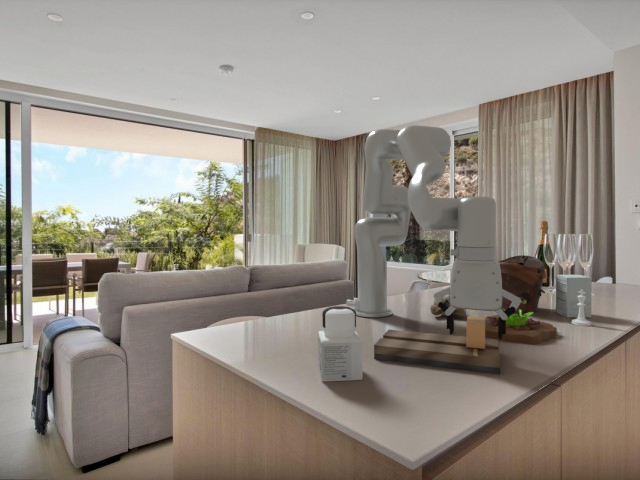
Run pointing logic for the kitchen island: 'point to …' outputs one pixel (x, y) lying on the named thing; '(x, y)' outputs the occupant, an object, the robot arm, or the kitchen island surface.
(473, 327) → the fader tab
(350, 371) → the container
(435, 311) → the ceramic sculpture
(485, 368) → the slider console
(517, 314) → the plant
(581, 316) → the chess piece
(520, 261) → the brown flower pot
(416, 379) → the kitchen island surface
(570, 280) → the supplement box
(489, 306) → the robot arm
